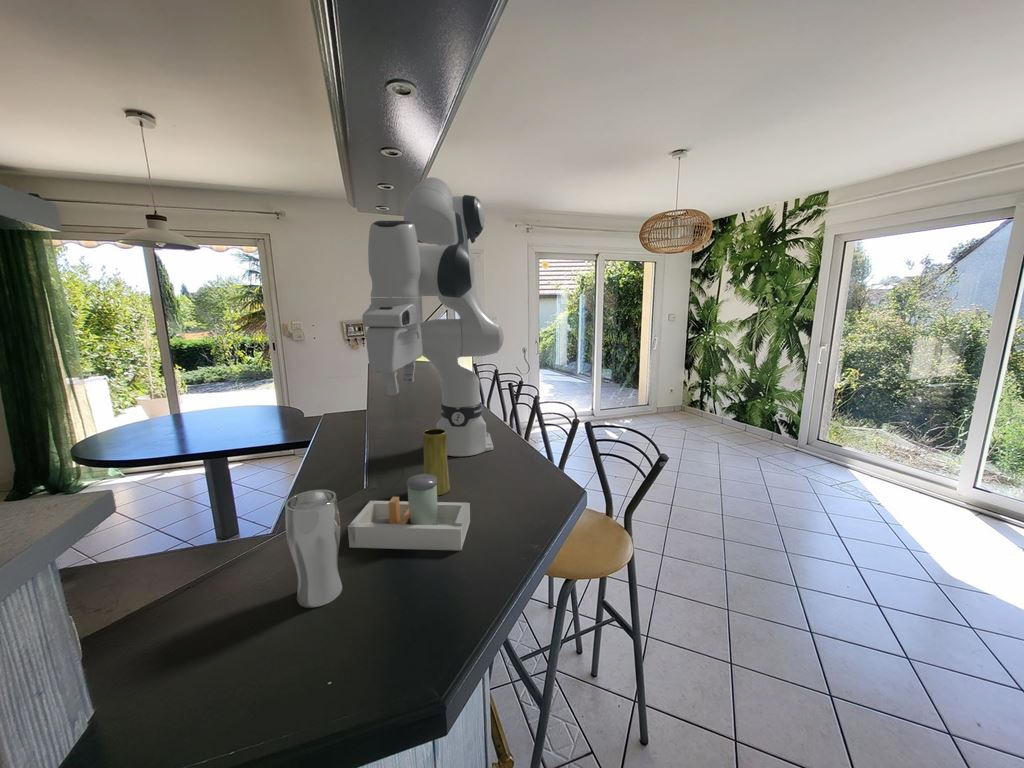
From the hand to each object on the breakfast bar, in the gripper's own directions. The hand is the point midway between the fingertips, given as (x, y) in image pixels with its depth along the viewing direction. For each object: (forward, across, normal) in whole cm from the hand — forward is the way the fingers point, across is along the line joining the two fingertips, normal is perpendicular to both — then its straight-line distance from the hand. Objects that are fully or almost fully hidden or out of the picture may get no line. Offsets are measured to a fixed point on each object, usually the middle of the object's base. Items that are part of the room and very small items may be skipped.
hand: (401, 388), depth 77 cm
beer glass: (+26, +22, -7) cm, 35 cm away
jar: (+26, +5, +5) cm, 27 cm away
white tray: (+27, +5, +2) cm, 27 cm away
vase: (+28, -14, +3) cm, 31 cm away
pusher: (+26, +5, -1) cm, 26 cm away
